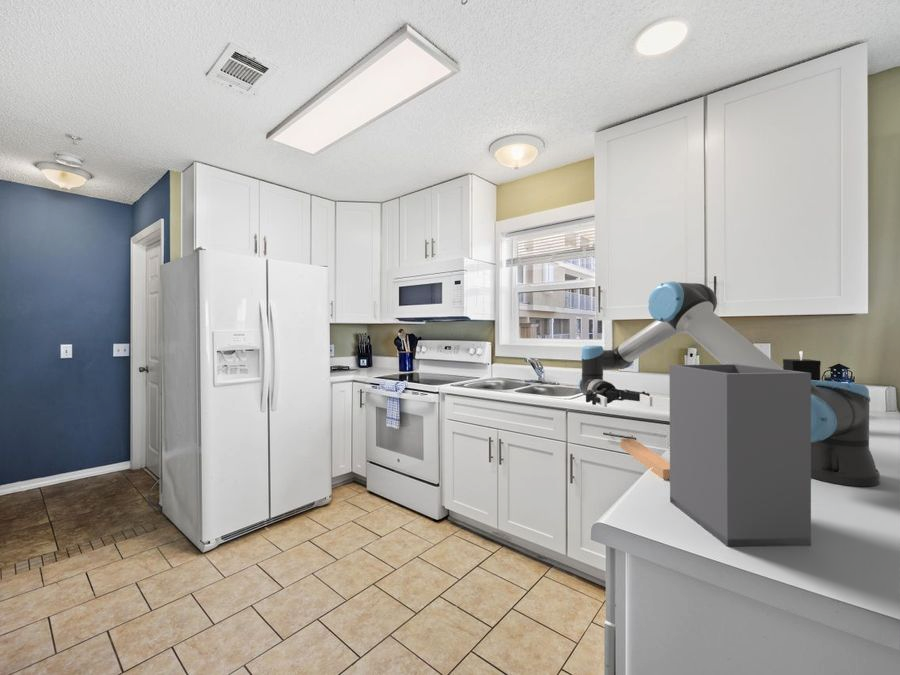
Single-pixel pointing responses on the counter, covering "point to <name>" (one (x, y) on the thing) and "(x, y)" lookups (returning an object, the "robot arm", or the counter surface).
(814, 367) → the tissue box
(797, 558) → the counter surface
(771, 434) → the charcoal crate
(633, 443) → the slat
